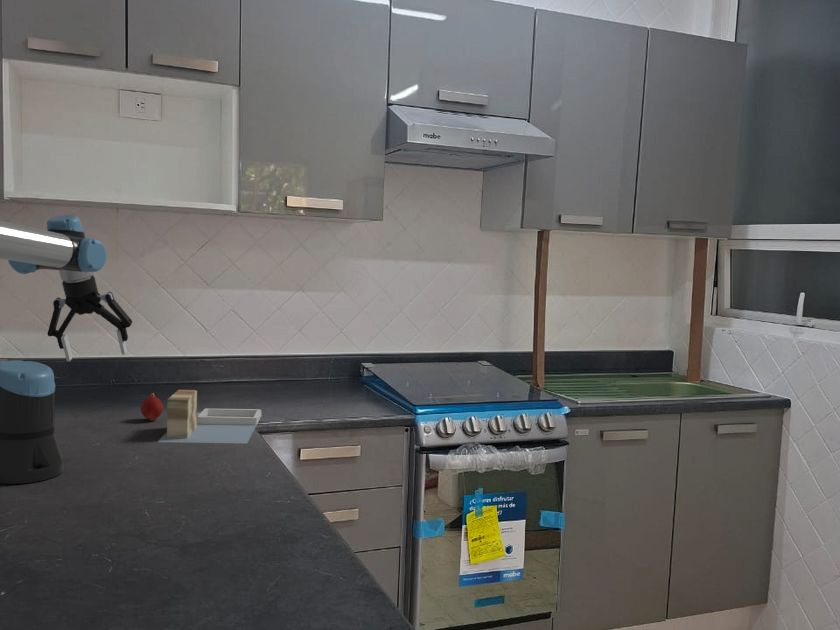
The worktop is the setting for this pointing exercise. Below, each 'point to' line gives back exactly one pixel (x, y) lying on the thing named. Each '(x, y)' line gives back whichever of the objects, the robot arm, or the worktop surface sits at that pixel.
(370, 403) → the worktop surface
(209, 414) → the frame
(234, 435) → the mat
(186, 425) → the block
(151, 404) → the onion
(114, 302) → the robot arm
